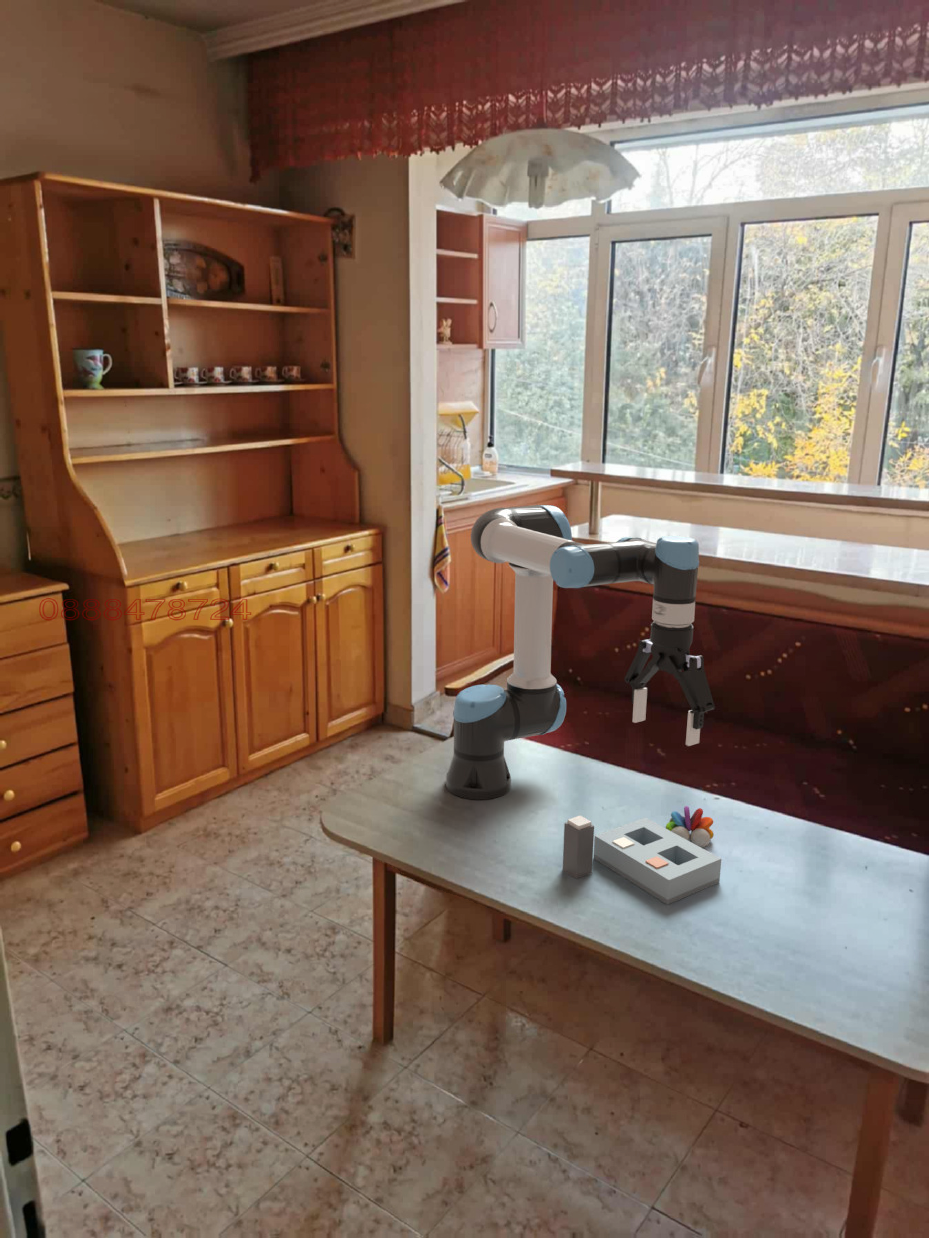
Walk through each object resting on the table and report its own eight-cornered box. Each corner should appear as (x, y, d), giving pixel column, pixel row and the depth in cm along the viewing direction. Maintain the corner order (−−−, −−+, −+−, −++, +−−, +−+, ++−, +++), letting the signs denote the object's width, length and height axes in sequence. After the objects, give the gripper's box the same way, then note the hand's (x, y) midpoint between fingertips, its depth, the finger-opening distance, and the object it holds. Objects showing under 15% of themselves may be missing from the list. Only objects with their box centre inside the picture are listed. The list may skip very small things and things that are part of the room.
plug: (562, 869, 181) (564, 819, 179) (578, 863, 184) (580, 813, 181) (576, 878, 178) (578, 827, 175) (591, 872, 180) (594, 822, 178)
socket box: (593, 858, 186) (594, 834, 184) (644, 839, 193) (645, 816, 192) (667, 904, 170) (669, 878, 168) (719, 882, 177) (721, 857, 176)
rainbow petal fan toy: (713, 852, 189) (716, 819, 187) (665, 846, 191) (667, 814, 189) (711, 832, 197) (714, 801, 195) (664, 827, 199) (667, 796, 197)
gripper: (609, 610, 177) (604, 715, 182) (711, 642, 157) (702, 758, 162) (638, 605, 181) (632, 708, 186) (741, 635, 161) (731, 749, 166)
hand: (664, 732), depth 174 cm, fingers open, 13 cm apart
